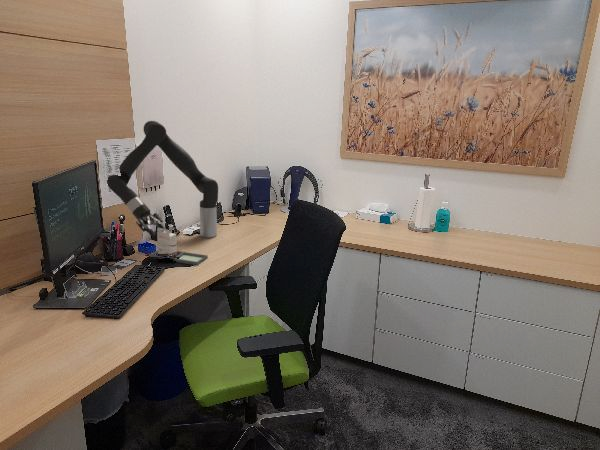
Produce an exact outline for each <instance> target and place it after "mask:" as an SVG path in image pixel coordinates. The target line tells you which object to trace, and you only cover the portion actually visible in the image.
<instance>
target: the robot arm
mask: <svg viewBox="0 0 600 450" xmlns="http://www.w3.org/2000/svg"><path fill="white" fill-rule="evenodd" d="M143 134H144V135H145V136H144V138H143V140H142V141H141V143H140V144H139V145H138V146H136V147H135V148H134V149H133V150H132V151H130V152H129V153H128V155H127V156H126V157H125V159H124V160H123V161H122V162H121V163H120V165H119V166H118V169H119V171H120V173H121V176H118V175H117V174H111V175H109V176H108V177H107V179H108V180H107V179H106V183H107V184H108V185H107V186H108V188H109V189H110V190H111V191H112V192H113V193H115V195H116V196H117V197H119V198H120V200H121V201H122V202H123V203H124V205H125V206H126V207H127V209H128V211H130V213H131V214H132V215H133V216H134V218H135V219H136V224H137V226H138V227H139V229H140V230H141V232H143V233H144V232H147V233H148V234H149V235H150V236H151V237H152V238H153V237H155V236H156V235H157V234H156V232H155V231H154V229H152V228H151V226H156V227H157V228H162V229H166V227H165V226H164V225H163V222H164V220H163V219H162V218H161V216H159V215H158V214H157V213H156V212H155V213H153V214H152V213H151V209H150V208H149V207H148V206H147V205H146V204H145V202H144V201H143V200H142V199H141V198H140V197H139V196H138V195H137V194H136V192H134V190H132V188H129V187H128V186H127V185H129V184H128V183H130V180H131V178H132V175H134V173H135V172H136V170H137V169H138V168H139V166H140V165H141V164H142V162H143V161H144V160H145V159H146V157H148V155H149V154H150V153H151V152H152V151H153V150H154V149H155V148H156V147H159V148H160V150H162V152H163V153H164V154H165V156H166V157H167V158H168V159H169V161H170V162H171V163H172V164H173V165H174V166H175V167H176V168H177V169H178V170H179V171H180V172H181V173H182V174H183V175H184V176H186V177H187V178H188V179H189V181H190V182H191V183H192V184H193V185H194V186H195V188H196V190H198V191H199V193H201V194H203V195H202V196H203V197H202V200H200V201H199V223H200V224H199V228H200V229H199V233H200V235H199V236H200V237H201V238H209V239H211V238H215V237H217V234H218V231H217V230H218V219H217V218H218V217H217V203H218V200H219V183H218V182H217V181H216V179H213V178H211V177H208V176H206V175H205V174H203V173H202V172H201V170H200V169H198V166H197V164H196V162H195V160H194V159H193V157H191V155H190V154H189V153H188V152H187V151H186V150H185V149H184V148H183V147H182V146H180V144H179V143H177V142H176V141H174V139H172V138H171V137H170V136H169V135H168V134H167V129H166V127H165V126H164V125H163V124H161V123H159V121H155V120H148V121H146V122H145V123H144V125H143ZM161 232H163V231H161Z"/></svg>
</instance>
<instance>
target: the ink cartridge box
mask: <svg viewBox="0 0 600 450" xmlns="http://www.w3.org/2000/svg"><path fill="white" fill-rule="evenodd" d="M156 231H157V234H156V235H157V237H156V238H157V240H156V241H157V251H158V254H168V255H172V254H177V251H178V241H177V240H178V239H177V238H178V236H177V234H176V233H172V232H171V231H170V229H167V228H165V229H162V228H158V227H157V230H156ZM162 231H163V232H162ZM158 254H157V255H158ZM177 255H178V254H177Z"/></svg>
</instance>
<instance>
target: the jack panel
mask: <svg viewBox="0 0 600 450" xmlns="http://www.w3.org/2000/svg"><path fill="white" fill-rule="evenodd" d="M177 253H179V254H177V257H180V258H179V259H177V258H175V261H176V262H175V263H180V264H181V263H182V264H187V265H192V266H193V265H194V266H199V265H200V264H201V263H203V262H205V261H206V260H207V259H208V258H209V256H208V254H207V255H206V254H200V253H193V252H189V251H181V250H177ZM155 254H157V255H155ZM150 257H161V256H158V250H156V251H154V252H152V253H150V254H149V258H150Z"/></svg>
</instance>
